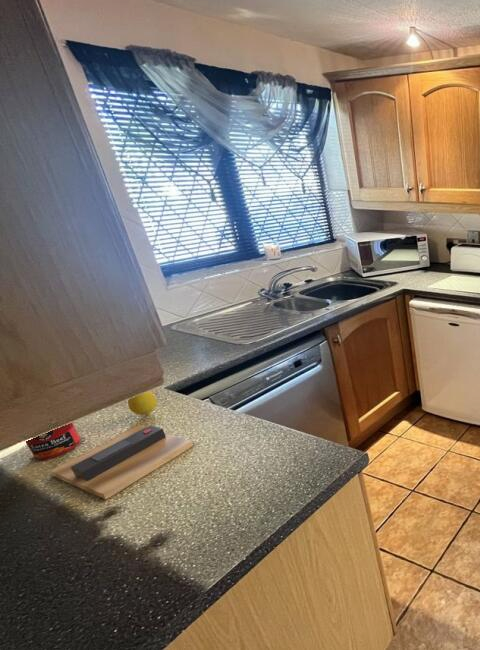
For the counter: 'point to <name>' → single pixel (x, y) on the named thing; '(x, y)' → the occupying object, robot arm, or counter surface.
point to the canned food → (54, 442)
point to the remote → (117, 453)
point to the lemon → (143, 403)
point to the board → (123, 464)
